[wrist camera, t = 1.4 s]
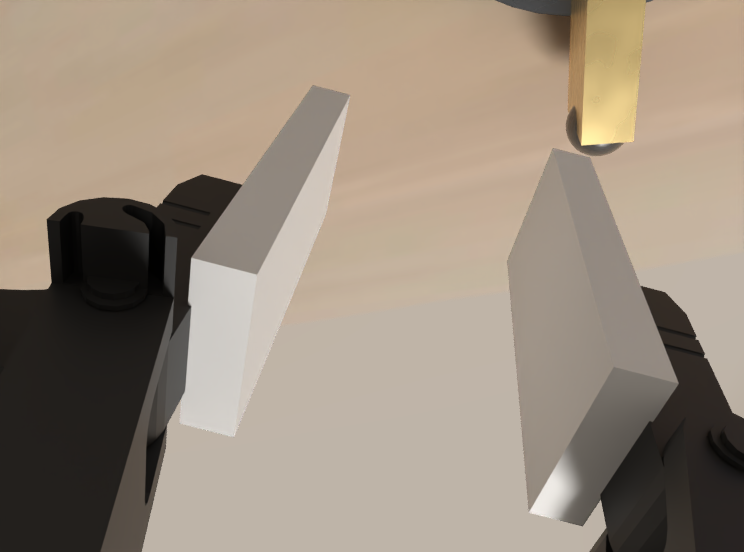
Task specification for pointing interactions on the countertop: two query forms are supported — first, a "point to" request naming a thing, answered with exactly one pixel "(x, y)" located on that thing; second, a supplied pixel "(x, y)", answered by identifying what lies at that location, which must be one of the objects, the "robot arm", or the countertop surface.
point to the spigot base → (543, 6)
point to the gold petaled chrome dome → (604, 73)
